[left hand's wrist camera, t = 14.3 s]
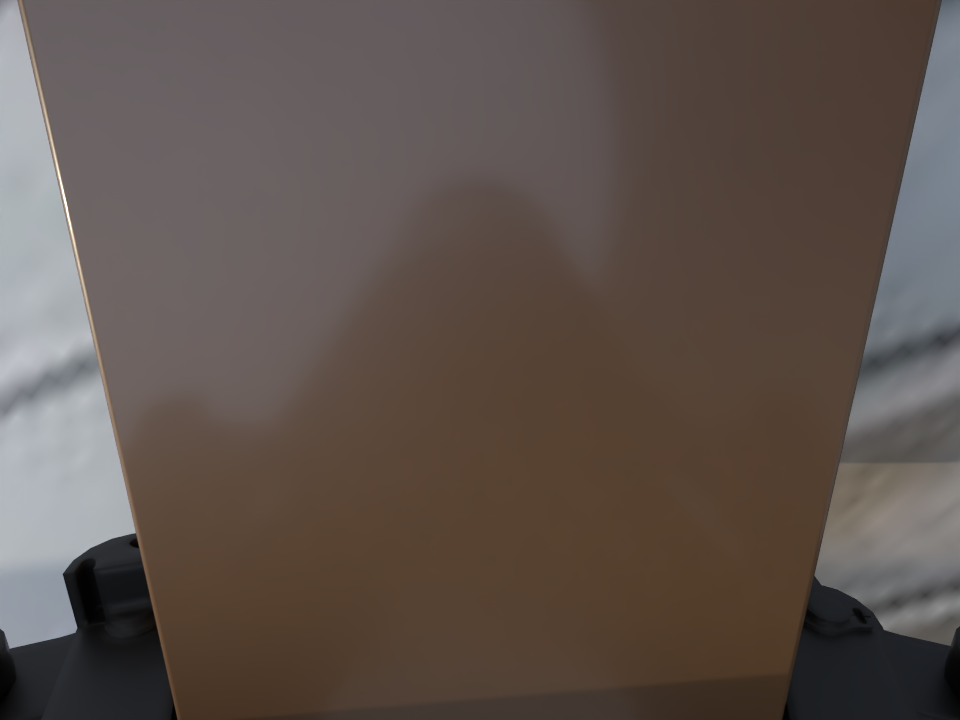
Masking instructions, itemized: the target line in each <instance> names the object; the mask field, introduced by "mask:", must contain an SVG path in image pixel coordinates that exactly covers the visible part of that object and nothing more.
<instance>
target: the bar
mask: <svg viewBox="0 0 960 720" xmlns="http://www.w3.org/2000/svg"><path fill="white" fill-rule="evenodd" d="M17 1H18V5H19V10H20V14H21V18H22V23H23V27H24V32H25V36H26V41H27V45H28V50H29V54H30V59H31V63H32V68H33V72H34V77H35V81H36V86H37V90H38V95H39V99H40V104H41V108H42V113H43V117H44V122H45V126H46V131H47V135H48V140H49V144H50V149H51V153H52V158H53V162H54V167H55V171H56V176H57V180H58V185H59V189H60V194H61V198H62V203H63V207H64V212H65V216H66V221H67V225H68V230H69V234H70V238H71V243H72V247H73V252H74V256H75V261H76V265H77V270H78V274H79V279H80V283H81V288H82V292H83V297H84V301H85V306H86V310H87V315H88V319H89V324H90V328H91V333H92V337H93V342H94V346H95V351H96V355H97V360H98V364H99V369H100V373H101V378H102V382H103V387H104V391H105V396H106V400H107V405H108V409H109V414H110V418H111V423H112V427H113V432H114V436H115V441H116V445H117V449H118V454H119V458H120V463H121V467H122V472H123V476H124V481H125V485H126V490H127V494H128V499H129V503H130V508H131V512H132V517H133V521H134V526H135V530H136V535H137V539H138V544H139V548H140V553H141V557H142V562H143V566H144V571H145V575H146V580H147V584H148V589H149V593H150V598H151V602H152V607H153V611H154V616H155V620H156V625H157V629H158V634H159V638H160V643H161V647H162V652H163V656H164V660H165V665H166V669H167V674H168V678H169V683H170V687H171V692H172V696H173V701H174V705H175V710H176V714H177V719H178V720H782V718H783V714H784V709H785V705H786V700H787V696H788V691H789V687H790V682H791V678H792V673H793V669H794V664H795V660H796V655H797V651H798V646H799V642H800V637H801V633H802V628H803V624H804V619H805V614H806V610H807V605H808V601H809V596H810V592H811V587H812V583H813V578H814V574H815V569H816V565H817V560H818V556H819V551H820V547H821V542H822V538H823V533H824V529H825V524H826V520H827V515H828V511H829V506H830V502H831V497H832V493H833V488H834V484H835V479H836V475H837V470H838V466H839V461H840V457H841V452H842V448H843V443H844V439H845V434H846V430H847V425H848V421H849V416H850V412H851V407H852V403H853V398H854V394H855V389H856V385H857V380H858V376H859V371H860V367H861V362H862V358H863V353H864V349H865V344H866V339H867V335H868V330H869V326H870V321H871V317H872V312H873V308H874V303H875V299H876V294H877V290H878V285H879V281H880V276H881V272H882V267H883V263H884V258H885V254H886V249H887V245H888V240H889V236H890V231H891V227H892V222H893V218H894V213H895V209H896V204H897V200H898V195H899V191H900V186H901V182H902V177H903V173H904V168H905V164H906V159H907V155H908V150H909V146H910V141H911V137H912V132H913V128H914V123H915V119H916V114H917V110H918V105H919V101H920V96H921V92H922V87H923V83H924V78H925V74H926V69H927V65H928V60H929V55H930V51H931V46H932V42H933V37H934V33H935V28H936V24H937V19H938V15H939V10H940V6H941V1H942V0H17Z"/></svg>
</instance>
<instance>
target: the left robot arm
mask: <svg viewBox="0 0 960 720" xmlns="http://www.w3.org/2000/svg"><path fill="white" fill-rule="evenodd" d="M63 577H64V580H65V584H66V588H67V591H68V595H69V599H70V602H71V606H72V609H73V613H74V617H75V620H76V624H77V631H76V633H74V634H70V635H67V636H64V637H60V638H56V639H51V640H47V641H42V642H38V643H34V644H29V645H25V646H20V647H16V648H11V649H9V646H8V643H7V640H6V637H5V634H4V632H3V631H2V630H1V629H0V720H178V719H177V714H176V710H175V705H174V701H173V696H172V692H171V687H170V683H169V678H168V674H167V669H166V665H165V660H164V656H163V652H162V647H161V643H160V638H159V634H158V629H157V625H156V620H155V616H154V611H153V607H152V602H151V598H150V593H149V589H148V584H147V580H146V575H145V571H144V566H143V562H142V557H141V553H140V548H139V544H138V539H137V535H136V533H135V534H130V535H126V536H122V537H118V538H114V539H111V540H108V541H106V542H104V543H101V544H99V545H97V546H95V547H92V548H90V549H89V550H88V551H86V552H85V553H83V554H82V555H80V556H79V557H78V558H76V559H75V560H73V562H72V563H71V564H70V565H69V567H68V568H67V569H66V571H65V572H64V573H63ZM782 720H960V627H958V628H957V629H956V632H955V635H954V638H953V641H952V644H951V646H948V645H943V644H939V643H934V642H930V641H925V640H921V639H916V638H912V637H907V636H903V635H899V634H895V633H892V632H888V631H885V630H884V629H883V627H882V626H881V624H880V623H879V621H878V620H877V618H876V617H875V615H874V614H873V612H871V611H870V610H869V609H868V608H866V607H865V606H864V605H863V604H861V603H860V602H859V601H858V600H857V599H855V598H853V597H851V596H849V595H847V594H845V593H843V592H841V591H839V590H837V589H833V588H830V587H826V586H822V585H821V584H820V583H819V581H818V580H817V579H816V577H815V576H814V578H813V583H812V587H811V592H810V596H809V601H808V605H807V610H806V614H805V619H804V624H803V628H802V633H801V637H800V642H799V646H798V651H797V655H796V660H795V664H794V669H793V673H792V678H791V682H790V687H789V691H788V696H787V700H786V705H785V709H784V714H783V718H782Z"/></svg>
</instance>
